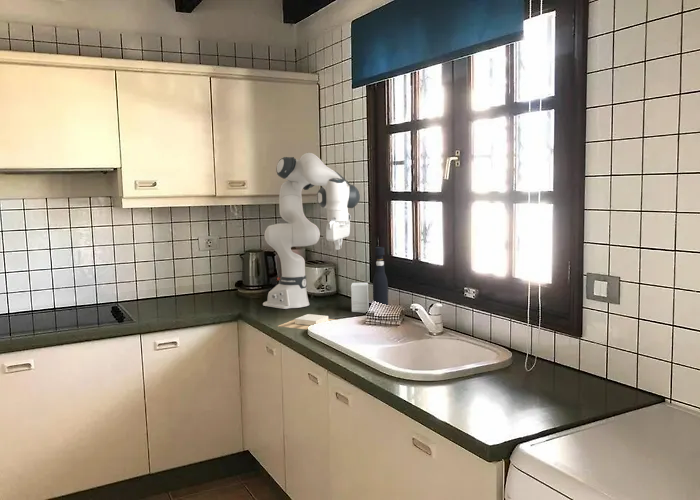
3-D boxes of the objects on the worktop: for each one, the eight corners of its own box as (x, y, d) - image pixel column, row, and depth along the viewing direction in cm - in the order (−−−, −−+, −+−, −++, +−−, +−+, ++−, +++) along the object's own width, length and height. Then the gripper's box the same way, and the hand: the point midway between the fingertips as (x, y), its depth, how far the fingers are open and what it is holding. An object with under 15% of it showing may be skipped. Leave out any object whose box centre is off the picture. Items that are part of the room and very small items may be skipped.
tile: (307, 319, 274) (295, 324, 265) (307, 314, 273) (294, 318, 265) (328, 321, 269) (316, 326, 260) (328, 316, 269) (315, 320, 260)
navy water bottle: (390, 315, 281) (389, 246, 277) (384, 318, 275) (383, 248, 271) (376, 314, 283) (375, 246, 280) (371, 317, 277) (369, 247, 274)
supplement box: (369, 309, 294) (368, 282, 292) (367, 313, 286) (367, 285, 285) (352, 309, 294) (352, 282, 293) (351, 313, 287) (350, 285, 286)
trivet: (277, 327, 262) (276, 326, 262) (303, 317, 280) (303, 316, 280) (319, 332, 253) (319, 330, 253) (343, 321, 270) (343, 320, 270)
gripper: (336, 218, 263) (337, 252, 265) (352, 215, 282) (352, 246, 284) (321, 218, 265) (322, 252, 267) (338, 215, 285) (339, 246, 286)
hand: (338, 249), depth 276 cm, fingers closed
